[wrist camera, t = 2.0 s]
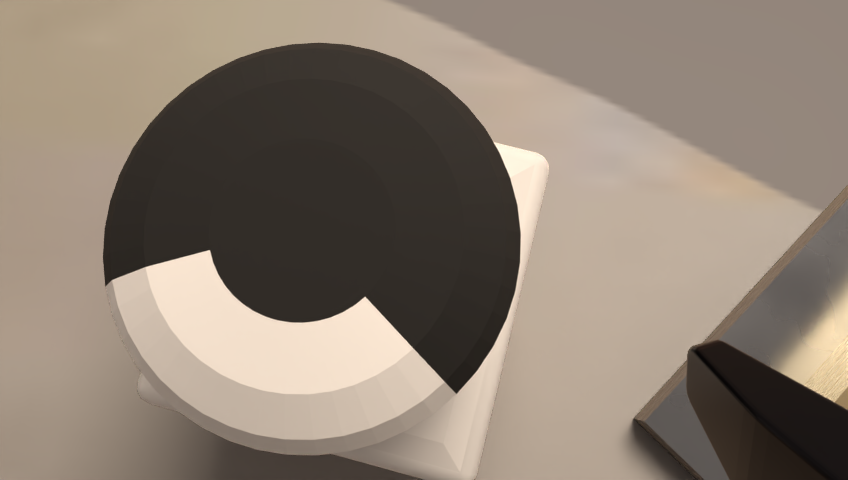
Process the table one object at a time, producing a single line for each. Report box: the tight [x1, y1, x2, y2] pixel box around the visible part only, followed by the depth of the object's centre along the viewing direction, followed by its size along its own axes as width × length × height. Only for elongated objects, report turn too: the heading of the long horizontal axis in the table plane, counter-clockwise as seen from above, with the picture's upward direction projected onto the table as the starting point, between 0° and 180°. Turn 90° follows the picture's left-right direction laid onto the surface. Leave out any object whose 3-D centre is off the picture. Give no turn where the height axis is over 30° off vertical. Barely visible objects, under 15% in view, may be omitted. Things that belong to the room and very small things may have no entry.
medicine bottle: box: [103, 43, 549, 480], centre depth 15 cm, size 7×7×12 cm
